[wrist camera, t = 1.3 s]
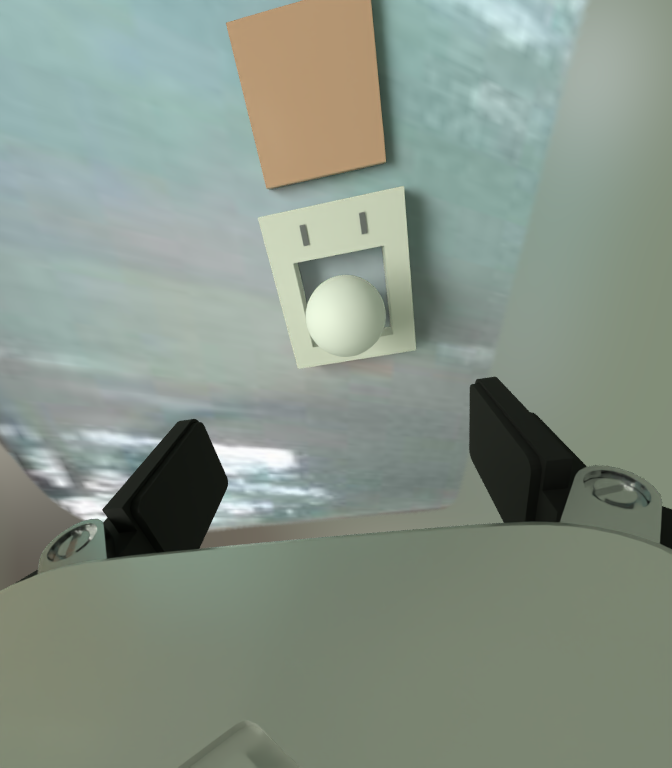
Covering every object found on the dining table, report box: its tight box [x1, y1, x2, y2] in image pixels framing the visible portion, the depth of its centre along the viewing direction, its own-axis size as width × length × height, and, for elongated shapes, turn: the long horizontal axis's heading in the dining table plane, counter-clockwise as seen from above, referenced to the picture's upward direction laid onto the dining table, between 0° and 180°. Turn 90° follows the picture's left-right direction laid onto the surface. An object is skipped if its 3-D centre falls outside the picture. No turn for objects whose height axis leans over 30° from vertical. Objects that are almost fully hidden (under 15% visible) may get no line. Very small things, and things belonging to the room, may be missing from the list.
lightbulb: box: [306, 275, 386, 357], centre depth 27 cm, size 6×6×11 cm
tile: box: [226, 0, 386, 189], centre depth 24 cm, size 10×10×1 cm
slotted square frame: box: [258, 186, 416, 369], centre depth 30 cm, size 14×12×3 cm
